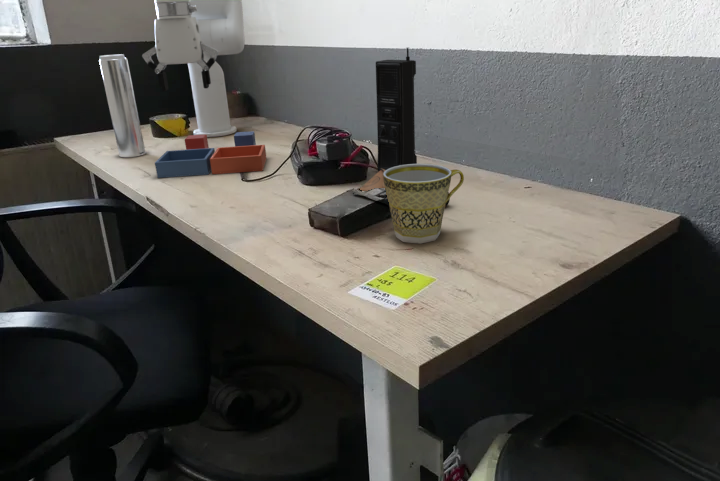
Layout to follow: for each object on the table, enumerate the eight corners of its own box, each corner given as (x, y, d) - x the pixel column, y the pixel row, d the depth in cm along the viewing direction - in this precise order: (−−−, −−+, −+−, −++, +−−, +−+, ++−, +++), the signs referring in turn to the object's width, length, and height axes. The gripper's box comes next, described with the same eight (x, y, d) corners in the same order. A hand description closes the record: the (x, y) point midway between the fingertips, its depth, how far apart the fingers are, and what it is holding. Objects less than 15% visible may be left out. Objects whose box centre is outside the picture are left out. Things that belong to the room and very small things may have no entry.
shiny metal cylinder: (124, 158, 145) (103, 56, 135) (115, 155, 150) (94, 55, 140) (149, 154, 149) (130, 53, 139) (140, 150, 153) (120, 53, 144)
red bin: (219, 161, 137) (217, 147, 136) (266, 158, 138) (264, 144, 136) (212, 174, 127) (209, 158, 125) (262, 170, 127) (260, 155, 126)
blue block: (238, 151, 146) (236, 132, 144) (256, 150, 146) (254, 131, 145) (236, 155, 142) (233, 136, 140) (254, 154, 142) (252, 134, 140)
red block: (191, 154, 146) (188, 135, 144) (209, 153, 146) (206, 134, 144) (187, 159, 141) (184, 139, 139) (206, 157, 142) (203, 137, 140)
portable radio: (372, 171, 122) (366, 49, 113) (390, 165, 126) (386, 46, 117) (400, 176, 117) (397, 49, 108) (418, 170, 121) (416, 46, 112)
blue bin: (169, 165, 136) (166, 150, 135) (216, 162, 137) (214, 147, 136) (157, 177, 126) (154, 162, 125) (208, 174, 127) (206, 159, 125)
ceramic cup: (404, 253, 81) (402, 186, 77) (374, 231, 90) (371, 169, 86) (480, 236, 86) (482, 171, 82) (445, 216, 94) (446, 157, 90)
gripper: (214, 9, 133) (225, 85, 139) (139, 13, 132) (153, 89, 139) (209, 9, 126) (220, 88, 132) (130, 13, 125) (144, 93, 132)
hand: (186, 89), depth 136 cm, fingers open, 9 cm apart
